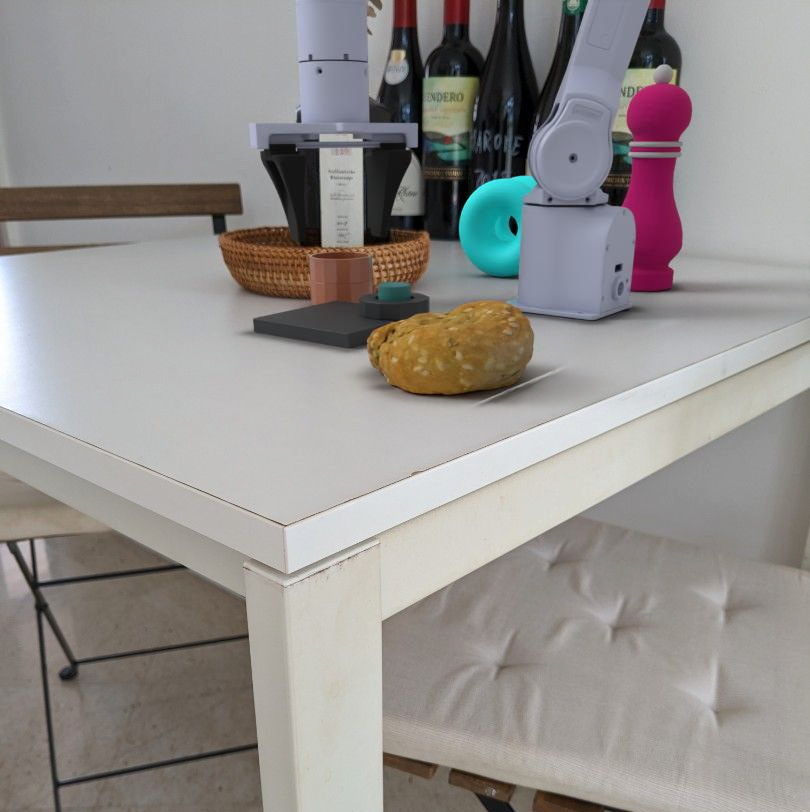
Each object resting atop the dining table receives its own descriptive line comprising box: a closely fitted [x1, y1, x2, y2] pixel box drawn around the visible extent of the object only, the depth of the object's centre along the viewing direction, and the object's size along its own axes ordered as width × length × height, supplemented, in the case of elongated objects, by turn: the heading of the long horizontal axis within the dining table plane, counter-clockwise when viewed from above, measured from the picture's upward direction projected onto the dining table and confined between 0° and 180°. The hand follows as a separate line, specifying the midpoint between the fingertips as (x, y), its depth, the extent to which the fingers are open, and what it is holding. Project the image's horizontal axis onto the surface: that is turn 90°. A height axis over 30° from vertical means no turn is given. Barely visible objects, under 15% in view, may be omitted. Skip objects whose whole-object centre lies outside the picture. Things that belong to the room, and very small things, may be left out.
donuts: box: [458, 175, 537, 278], centre depth 95 cm, size 10×10×10 cm
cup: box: [308, 251, 374, 306], centre depth 78 cm, size 6×6×4 cm
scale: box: [252, 291, 430, 350], centre depth 68 cm, size 11×11×2 cm
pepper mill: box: [621, 64, 693, 292], centre depth 84 cm, size 7×7×20 cm
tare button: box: [377, 281, 412, 301], centre depth 68 cm, size 3×3×1 cm
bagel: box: [366, 299, 535, 396], centre depth 54 cm, size 10×11×5 cm
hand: (339, 238), depth 76 cm, fingers open, 7 cm apart
